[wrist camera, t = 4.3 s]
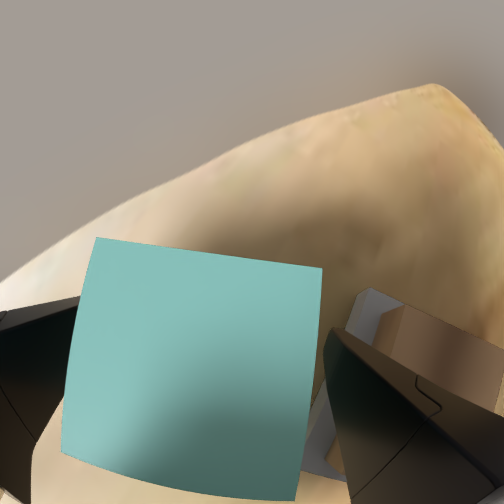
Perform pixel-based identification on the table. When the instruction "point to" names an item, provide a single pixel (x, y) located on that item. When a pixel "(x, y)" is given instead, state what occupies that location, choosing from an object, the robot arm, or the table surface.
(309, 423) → the slate slab
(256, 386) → the teal block
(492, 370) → the walnut slab
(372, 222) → the table surface
